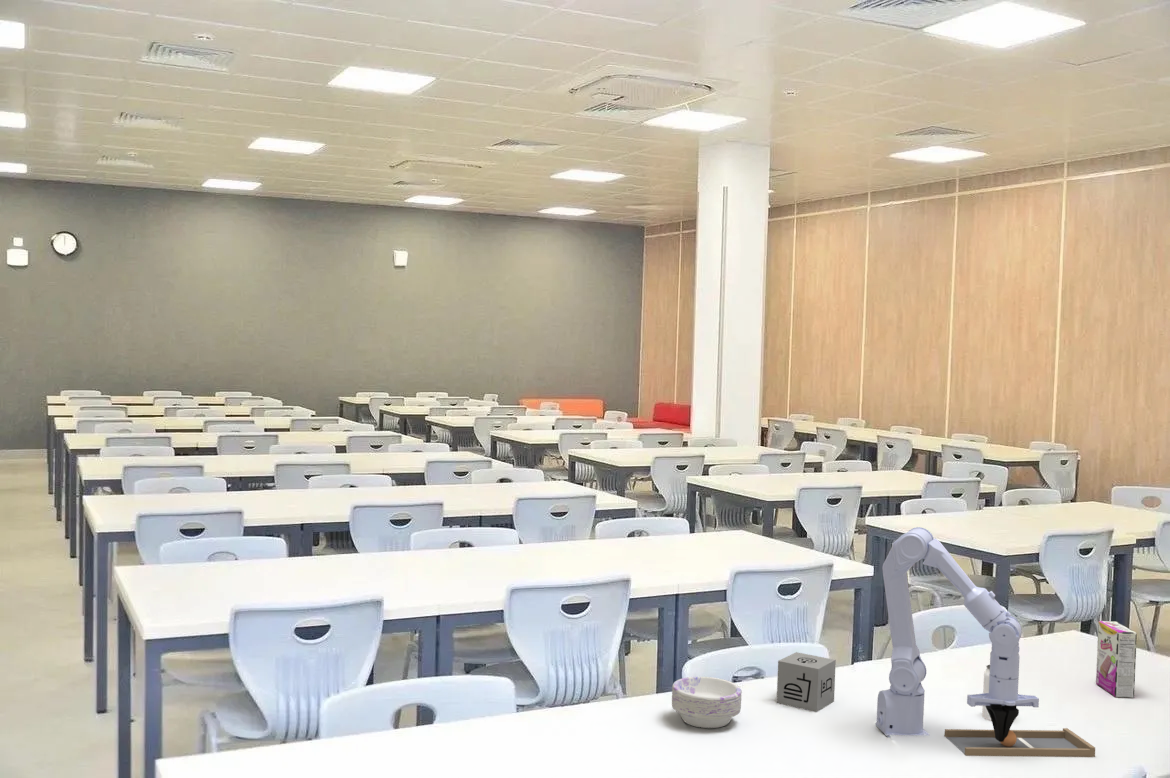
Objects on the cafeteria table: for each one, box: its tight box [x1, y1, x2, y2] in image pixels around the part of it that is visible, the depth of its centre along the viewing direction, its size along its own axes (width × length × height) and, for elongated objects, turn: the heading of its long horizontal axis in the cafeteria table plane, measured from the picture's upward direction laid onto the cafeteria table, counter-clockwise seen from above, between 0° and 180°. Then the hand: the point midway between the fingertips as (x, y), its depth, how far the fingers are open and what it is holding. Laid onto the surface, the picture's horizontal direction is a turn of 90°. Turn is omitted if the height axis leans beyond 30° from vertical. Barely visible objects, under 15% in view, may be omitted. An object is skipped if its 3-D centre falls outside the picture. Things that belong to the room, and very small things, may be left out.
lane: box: [944, 727, 1096, 758], centre depth 232 cm, size 27×12×2 cm, turn 93°
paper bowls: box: [671, 676, 743, 729], centre depth 243 cm, size 15×15×8 cm
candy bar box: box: [1095, 620, 1138, 699], centre depth 275 cm, size 11×5×16 cm, turn 179°
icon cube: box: [776, 651, 837, 713], centre depth 259 cm, size 10×10×10 cm
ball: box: [1000, 729, 1017, 747], centre depth 231 cm, size 4×4×4 cm
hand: (1001, 740), depth 231 cm, fingers closed, pressing on ball
